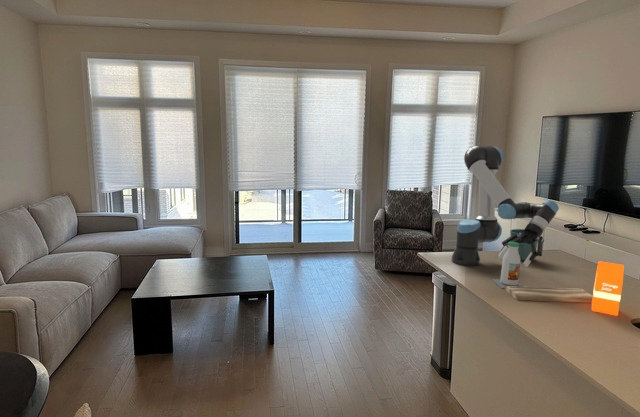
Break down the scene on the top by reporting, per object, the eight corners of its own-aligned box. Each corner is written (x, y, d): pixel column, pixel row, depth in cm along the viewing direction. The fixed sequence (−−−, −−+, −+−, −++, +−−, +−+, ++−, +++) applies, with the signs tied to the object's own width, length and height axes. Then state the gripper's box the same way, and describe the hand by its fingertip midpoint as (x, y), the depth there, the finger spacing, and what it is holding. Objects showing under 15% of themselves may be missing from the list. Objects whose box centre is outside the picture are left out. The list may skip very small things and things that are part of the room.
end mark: (491, 279, 206) (491, 279, 206) (515, 280, 206) (516, 280, 206) (501, 288, 194) (501, 287, 194) (527, 289, 194) (527, 288, 194)
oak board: (505, 290, 192) (505, 285, 192) (580, 292, 192) (580, 288, 191) (516, 299, 180) (517, 295, 180) (596, 302, 180) (597, 298, 180)
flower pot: (511, 261, 240) (514, 233, 238) (503, 253, 256) (506, 228, 254) (541, 263, 238) (545, 235, 235) (532, 255, 254) (535, 229, 251)
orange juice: (617, 316, 166) (625, 267, 163) (591, 310, 171) (598, 263, 168) (616, 309, 173) (623, 262, 170) (591, 304, 178) (597, 258, 174)
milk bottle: (500, 284, 198) (505, 243, 195) (499, 279, 205) (504, 239, 202) (518, 287, 195) (523, 245, 192) (517, 282, 202) (522, 241, 199)
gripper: (563, 238, 193) (539, 273, 189) (516, 227, 215) (493, 259, 210) (558, 227, 190) (533, 263, 185) (510, 218, 212) (487, 250, 207)
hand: (512, 261), depth 198 cm, fingers open, 13 cm apart
